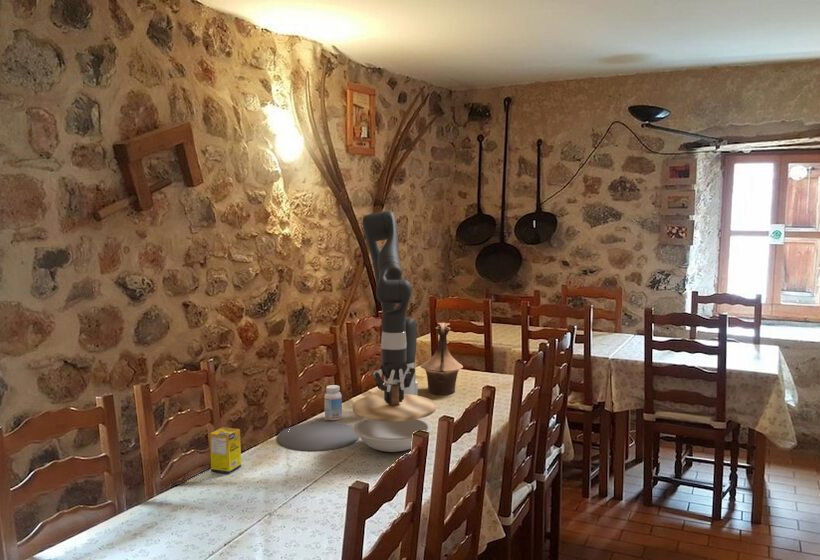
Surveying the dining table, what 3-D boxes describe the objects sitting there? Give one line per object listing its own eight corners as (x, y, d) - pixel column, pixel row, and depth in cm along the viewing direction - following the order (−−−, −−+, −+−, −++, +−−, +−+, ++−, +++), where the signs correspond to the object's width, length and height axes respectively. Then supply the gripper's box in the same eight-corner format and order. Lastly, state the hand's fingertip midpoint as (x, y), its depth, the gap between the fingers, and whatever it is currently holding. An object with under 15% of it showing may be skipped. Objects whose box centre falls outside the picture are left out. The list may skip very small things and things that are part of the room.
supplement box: (241, 466, 185) (240, 428, 184) (229, 474, 179) (228, 435, 178) (223, 464, 187) (222, 426, 186) (210, 471, 181) (209, 433, 180)
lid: (411, 393, 216) (411, 372, 215) (451, 413, 194) (451, 389, 193) (340, 403, 205) (340, 380, 204) (373, 426, 182) (373, 400, 182)
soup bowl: (444, 441, 206) (444, 420, 205) (412, 467, 184) (412, 444, 184) (376, 430, 216) (376, 411, 215) (338, 454, 194) (337, 432, 194)
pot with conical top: (464, 397, 255) (464, 326, 253) (420, 397, 256) (420, 326, 253) (461, 386, 273) (461, 319, 270) (420, 385, 273) (420, 319, 270)
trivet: (341, 419, 228) (341, 418, 228) (372, 442, 205) (372, 440, 205) (267, 431, 216) (267, 429, 216) (291, 456, 193) (291, 454, 193)
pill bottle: (343, 415, 232) (343, 384, 231) (340, 421, 226) (339, 389, 225) (326, 415, 233) (326, 384, 232) (322, 420, 227) (322, 388, 226)
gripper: (409, 341, 204) (409, 396, 206) (367, 346, 198) (367, 402, 199) (420, 346, 197) (420, 402, 199) (377, 350, 191) (377, 408, 193)
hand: (393, 402), depth 199 cm, fingers closed on lid, 3 cm apart
